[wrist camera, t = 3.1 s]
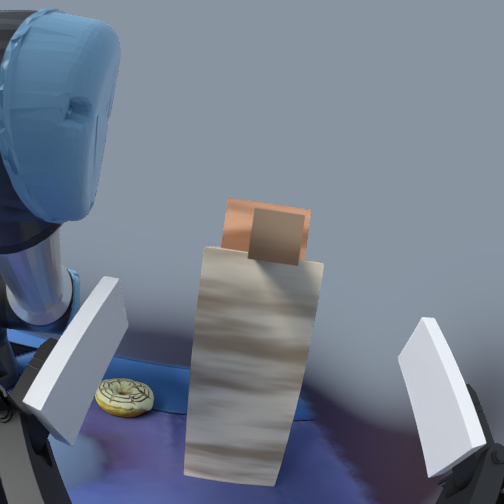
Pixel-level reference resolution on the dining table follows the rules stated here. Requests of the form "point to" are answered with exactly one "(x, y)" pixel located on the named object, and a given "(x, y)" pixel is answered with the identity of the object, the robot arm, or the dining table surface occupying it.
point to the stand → (247, 364)
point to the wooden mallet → (266, 231)
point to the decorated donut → (124, 397)
